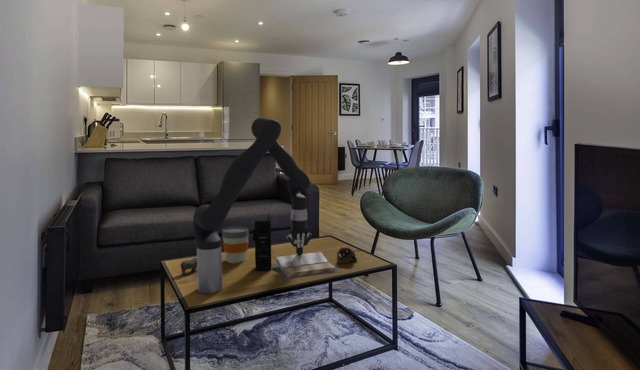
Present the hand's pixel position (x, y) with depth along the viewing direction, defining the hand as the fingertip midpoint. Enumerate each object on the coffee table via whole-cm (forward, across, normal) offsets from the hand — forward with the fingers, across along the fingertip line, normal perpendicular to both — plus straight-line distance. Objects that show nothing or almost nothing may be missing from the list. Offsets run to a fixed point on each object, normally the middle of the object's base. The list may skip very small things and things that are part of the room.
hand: (299, 254), depth 200 cm
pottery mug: (+5, +21, -6) cm, 22 cm away
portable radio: (+4, -18, -1) cm, 19 cm away
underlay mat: (+4, 0, -7) cm, 8 cm away
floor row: (+4, 0, -13) cm, 13 cm away
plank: (+3, 0, -3) cm, 4 cm away
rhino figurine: (+4, -47, +8) cm, 48 cm away
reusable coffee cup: (+5, -26, +17) cm, 31 cm away
